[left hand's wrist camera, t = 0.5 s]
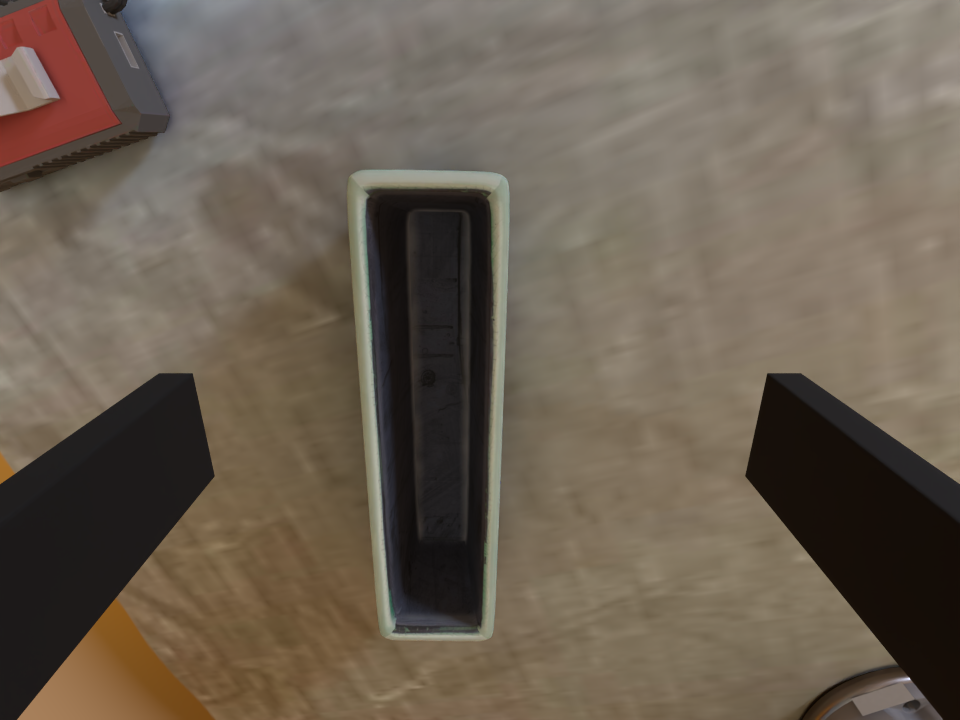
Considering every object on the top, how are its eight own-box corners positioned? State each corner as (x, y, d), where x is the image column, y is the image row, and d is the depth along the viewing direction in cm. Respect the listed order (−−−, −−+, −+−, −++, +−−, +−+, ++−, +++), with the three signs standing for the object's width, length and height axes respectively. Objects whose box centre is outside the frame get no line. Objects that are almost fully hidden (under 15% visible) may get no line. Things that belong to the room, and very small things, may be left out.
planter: (373, 162, 29) (341, 169, 22) (505, 165, 29) (512, 172, 22) (395, 558, 40) (377, 643, 33) (492, 560, 40) (494, 644, 33)
